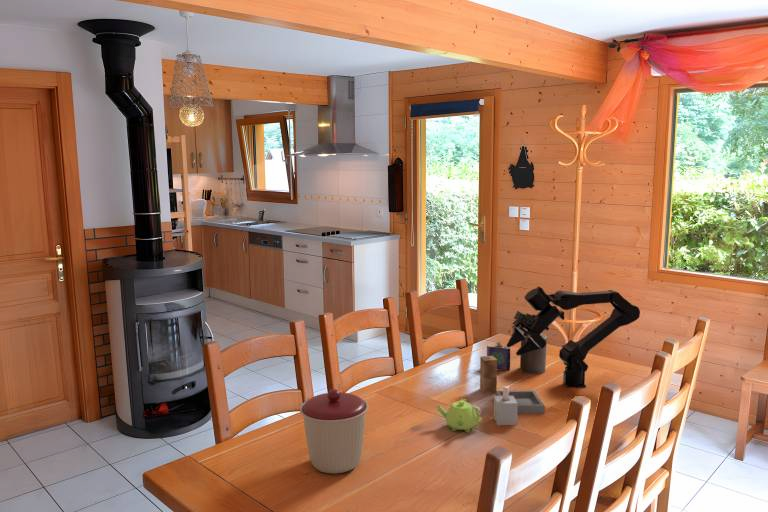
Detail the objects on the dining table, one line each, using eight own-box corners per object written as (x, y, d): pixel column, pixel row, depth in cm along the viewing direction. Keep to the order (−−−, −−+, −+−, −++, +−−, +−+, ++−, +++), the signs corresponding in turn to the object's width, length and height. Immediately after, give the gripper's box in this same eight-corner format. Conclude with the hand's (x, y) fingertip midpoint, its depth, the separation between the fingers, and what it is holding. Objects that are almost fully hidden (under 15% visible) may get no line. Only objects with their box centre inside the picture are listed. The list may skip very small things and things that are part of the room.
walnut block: (492, 388, 218) (492, 355, 217) (496, 392, 214) (497, 359, 212) (480, 389, 218) (480, 356, 216) (484, 393, 213) (484, 360, 211)
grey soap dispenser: (512, 416, 194) (513, 383, 192) (517, 424, 188) (517, 390, 187) (493, 416, 194) (494, 383, 192) (497, 425, 188) (498, 390, 187)
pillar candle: (518, 372, 234) (520, 334, 231) (520, 364, 243) (522, 327, 240) (545, 375, 231) (546, 337, 228) (546, 366, 240) (547, 329, 238)
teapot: (487, 429, 185) (488, 403, 184) (458, 439, 179) (458, 411, 178) (463, 416, 195) (463, 391, 193) (435, 425, 189) (435, 399, 187)
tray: (534, 397, 209) (534, 390, 209) (544, 413, 196) (544, 405, 196) (496, 398, 209) (496, 390, 209) (503, 414, 196) (503, 406, 196)
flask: (485, 368, 239) (486, 341, 238) (487, 365, 242) (488, 339, 240) (509, 371, 235) (509, 344, 234) (511, 369, 238) (511, 342, 236)
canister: (334, 442, 178) (333, 373, 175) (383, 461, 167) (382, 387, 163) (287, 467, 164) (284, 392, 161) (336, 489, 153) (334, 409, 149)
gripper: (519, 297, 223) (488, 328, 223) (539, 310, 204) (506, 343, 204) (538, 318, 225) (508, 348, 225) (560, 332, 207) (527, 365, 207)
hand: (511, 350), depth 215 cm, fingers open, 9 cm apart
